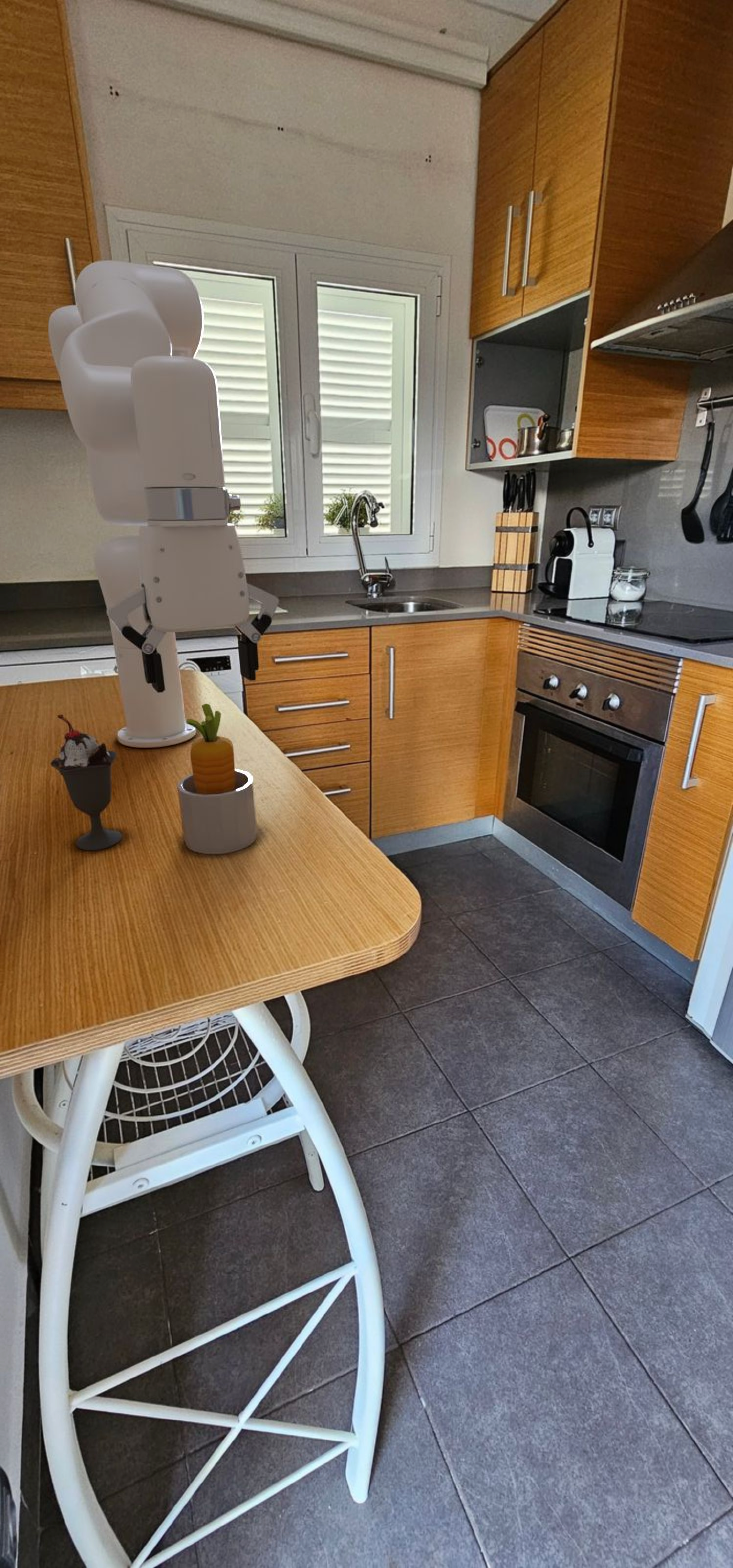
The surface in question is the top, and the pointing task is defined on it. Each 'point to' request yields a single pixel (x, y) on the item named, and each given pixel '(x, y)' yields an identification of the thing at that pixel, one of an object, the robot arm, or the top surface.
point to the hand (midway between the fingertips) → (204, 683)
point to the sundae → (88, 783)
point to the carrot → (212, 756)
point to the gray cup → (218, 816)
